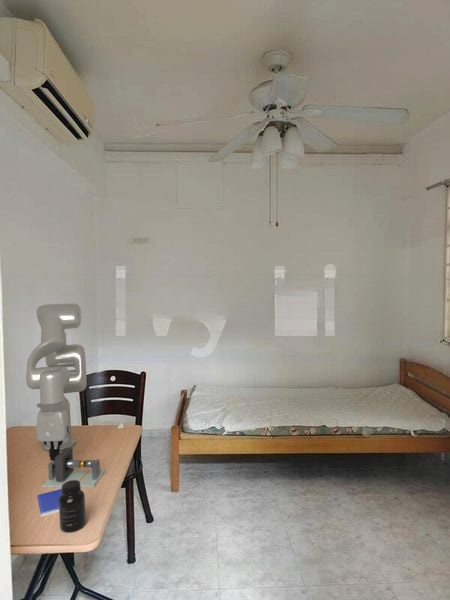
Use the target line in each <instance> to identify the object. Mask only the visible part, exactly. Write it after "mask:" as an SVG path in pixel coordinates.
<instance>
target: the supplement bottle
mask: <svg viewBox="0 0 450 600" xmlns="http://www.w3.org/2000/svg"><path fill="white" fill-rule="evenodd" d="M81 488H82V487H81V486H80V482H79V481H78V480H71V481H68V482H65V483H64V484H63V485H62V487H61V489H62V494H61V495H60V497H59V512H58V514H59V527H60V530H61V532H64V533H76V532H77V531H79V530H81V529H83V528H84V527H85V525H86V522H87V517H86V515H87V514H86V498H85V497H86V496H85V492H84V491H83V490H82V489H81Z"/></svg>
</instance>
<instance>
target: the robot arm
mask: <svg viewBox="0 0 450 600" xmlns="http://www.w3.org/2000/svg"><path fill="white" fill-rule="evenodd" d="M36 318H37V321H38V324H39V327H40V330H41V331H40V343H39V344H38V345H37V346H36V347H35V348H34V349H33V351H31V353H30V354H29V356H28V359H27V362H26V379H25V380H26V385H27V387H28V388H29V389H32V390H39V401H40V402H39V403H37V404H36V407H37V408H39V411H38V412H37V418H36V429H35V430H36V431H35V434H36V437H35V438H36V440H37V442H38V443H39V444H43V445H42V448H43V450H45V451H48V453H49V461H51V462H52V461H53V460H54V461H55V457H56V456H57V455H58V454H60V453H61V451H63V450H64V449H65V448H73V447H74V445H75V444H76V439H75V438H73V437H72V428H71V425H72V424H71V403H70V401H69V399H68V398H67V397H66V396H65V394H71V393H73V394H74V393H79V392H80V393H81V392H83V391H85V390H86V388H87V385H88V383H87V363H86V351H85V348H84V346H82V345H81V344H67V334H66V332H65V330H66V329H67V330H68V329H69V330H70V329H78V328H79V327H80V326H81V323H82V312H81V308H80V305H79V304H78V303H52V304H50V303H49V304H43V305H41V306H38V307H37V308H36ZM44 358H45V359H44ZM42 359H44V360H45V364H46V366H43V367H42V366H41V367H36V366H37V364H38V363H39V361H41V360H42ZM68 368H74V369H68Z"/></svg>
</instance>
